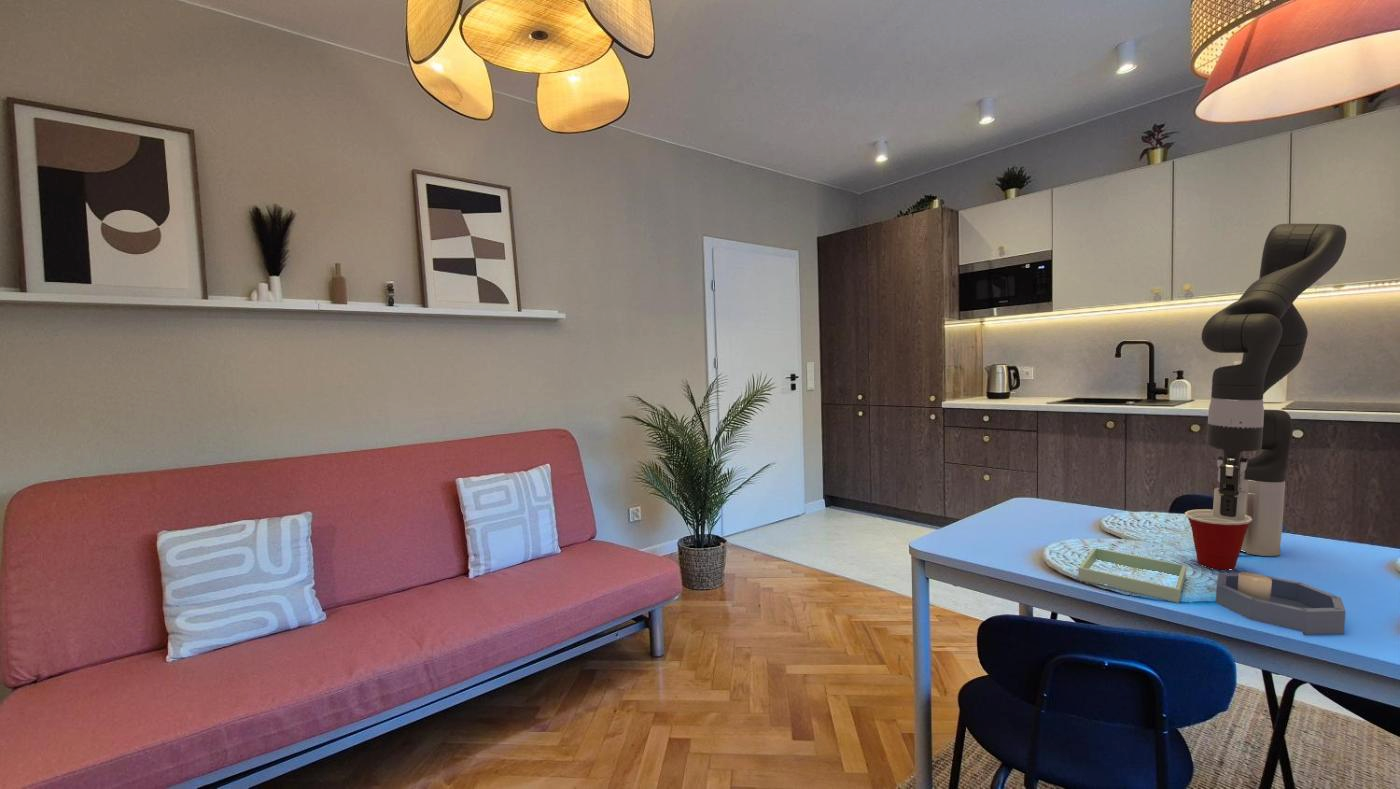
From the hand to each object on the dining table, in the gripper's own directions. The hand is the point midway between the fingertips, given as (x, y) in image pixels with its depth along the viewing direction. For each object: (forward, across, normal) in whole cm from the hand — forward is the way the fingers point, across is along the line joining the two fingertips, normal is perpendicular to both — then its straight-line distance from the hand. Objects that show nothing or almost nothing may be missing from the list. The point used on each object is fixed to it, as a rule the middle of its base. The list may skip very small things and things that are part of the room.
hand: (1228, 512), depth 107 cm
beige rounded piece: (+1, 0, 0) cm, 1 cm away
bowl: (+17, 0, -7) cm, 18 cm away
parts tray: (+17, -1, +14) cm, 22 cm away
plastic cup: (+17, +20, +3) cm, 26 cm away
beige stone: (+16, 0, -4) cm, 17 cm away
